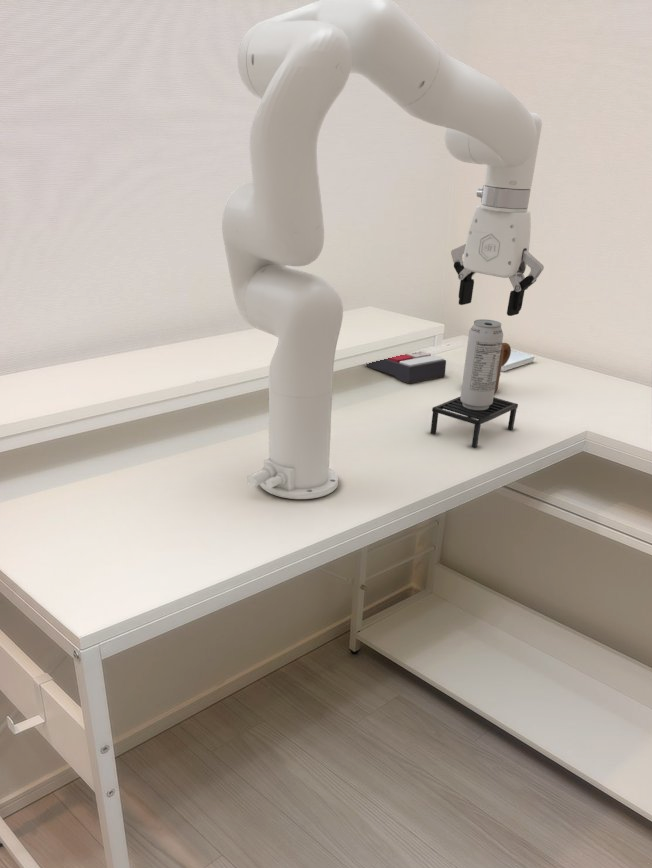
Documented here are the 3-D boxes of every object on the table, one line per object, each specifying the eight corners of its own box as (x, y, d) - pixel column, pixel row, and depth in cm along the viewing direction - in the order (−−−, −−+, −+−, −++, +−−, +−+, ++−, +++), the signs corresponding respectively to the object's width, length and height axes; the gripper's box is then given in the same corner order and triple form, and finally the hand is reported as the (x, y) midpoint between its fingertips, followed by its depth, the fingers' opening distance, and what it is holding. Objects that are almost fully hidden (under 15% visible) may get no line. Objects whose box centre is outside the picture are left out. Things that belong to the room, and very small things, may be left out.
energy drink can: (486, 400, 152) (499, 318, 144) (495, 411, 147) (509, 327, 139) (455, 400, 151) (466, 318, 143) (463, 411, 146) (475, 326, 138)
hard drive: (506, 348, 196) (476, 356, 189) (534, 355, 192) (505, 364, 184) (505, 355, 197) (475, 363, 190) (533, 362, 193) (504, 371, 185)
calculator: (402, 343, 187) (447, 356, 177) (401, 362, 190) (445, 376, 179) (366, 349, 182) (410, 363, 171) (365, 368, 184) (408, 383, 174)
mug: (491, 378, 180) (497, 336, 175) (517, 388, 175) (525, 344, 170) (454, 387, 173) (460, 343, 168) (481, 397, 168) (488, 352, 163)
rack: (475, 448, 144) (479, 421, 142) (429, 433, 149) (432, 407, 147) (513, 429, 154) (518, 403, 151) (469, 415, 159) (473, 391, 156)
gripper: (448, 194, 132) (435, 302, 141) (542, 207, 123) (521, 322, 132) (472, 192, 137) (458, 297, 146) (564, 205, 128) (543, 316, 137)
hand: (488, 309), depth 139 cm, fingers open, 9 cm apart
